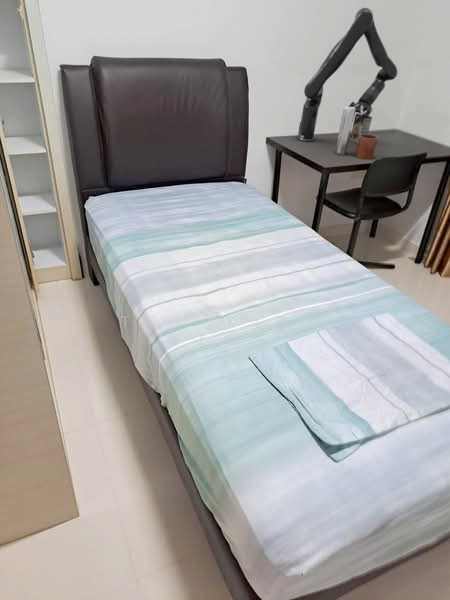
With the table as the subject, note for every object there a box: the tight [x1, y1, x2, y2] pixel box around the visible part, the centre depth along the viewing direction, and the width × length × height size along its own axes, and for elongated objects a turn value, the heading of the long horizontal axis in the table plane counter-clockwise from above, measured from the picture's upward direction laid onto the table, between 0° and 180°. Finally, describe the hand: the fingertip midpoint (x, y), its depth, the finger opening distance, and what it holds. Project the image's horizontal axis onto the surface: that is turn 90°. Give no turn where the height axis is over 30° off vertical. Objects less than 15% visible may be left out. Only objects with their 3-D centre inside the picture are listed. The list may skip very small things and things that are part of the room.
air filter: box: [334, 106, 357, 156], centre depth 244 cm, size 6×6×25 cm
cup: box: [354, 133, 378, 160], centre depth 247 cm, size 10×10×11 cm
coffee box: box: [349, 113, 373, 145], centre depth 271 cm, size 9×6×16 cm
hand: (350, 120), depth 243 cm, fingers open, 8 cm apart
